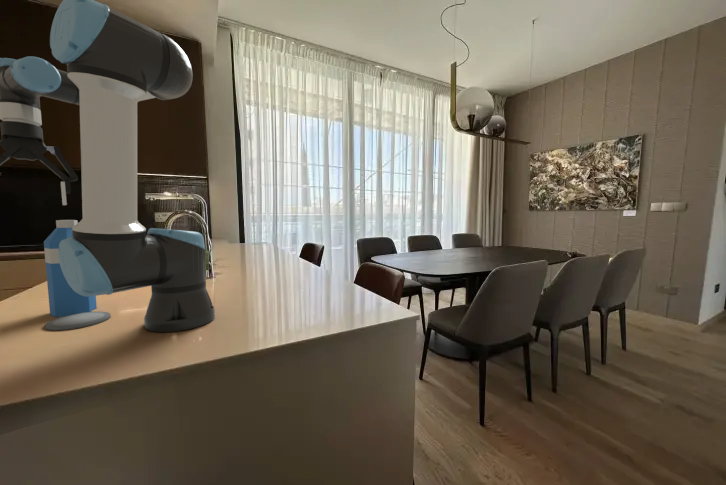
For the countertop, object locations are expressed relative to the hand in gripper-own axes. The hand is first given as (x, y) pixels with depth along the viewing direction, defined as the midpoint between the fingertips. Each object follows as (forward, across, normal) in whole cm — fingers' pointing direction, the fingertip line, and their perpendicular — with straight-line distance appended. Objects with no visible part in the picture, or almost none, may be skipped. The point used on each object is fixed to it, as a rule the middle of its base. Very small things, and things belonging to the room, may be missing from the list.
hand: (29, 204), depth 83 cm
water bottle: (+29, -6, +9) cm, 31 cm away
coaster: (+29, -7, +20) cm, 36 cm away
